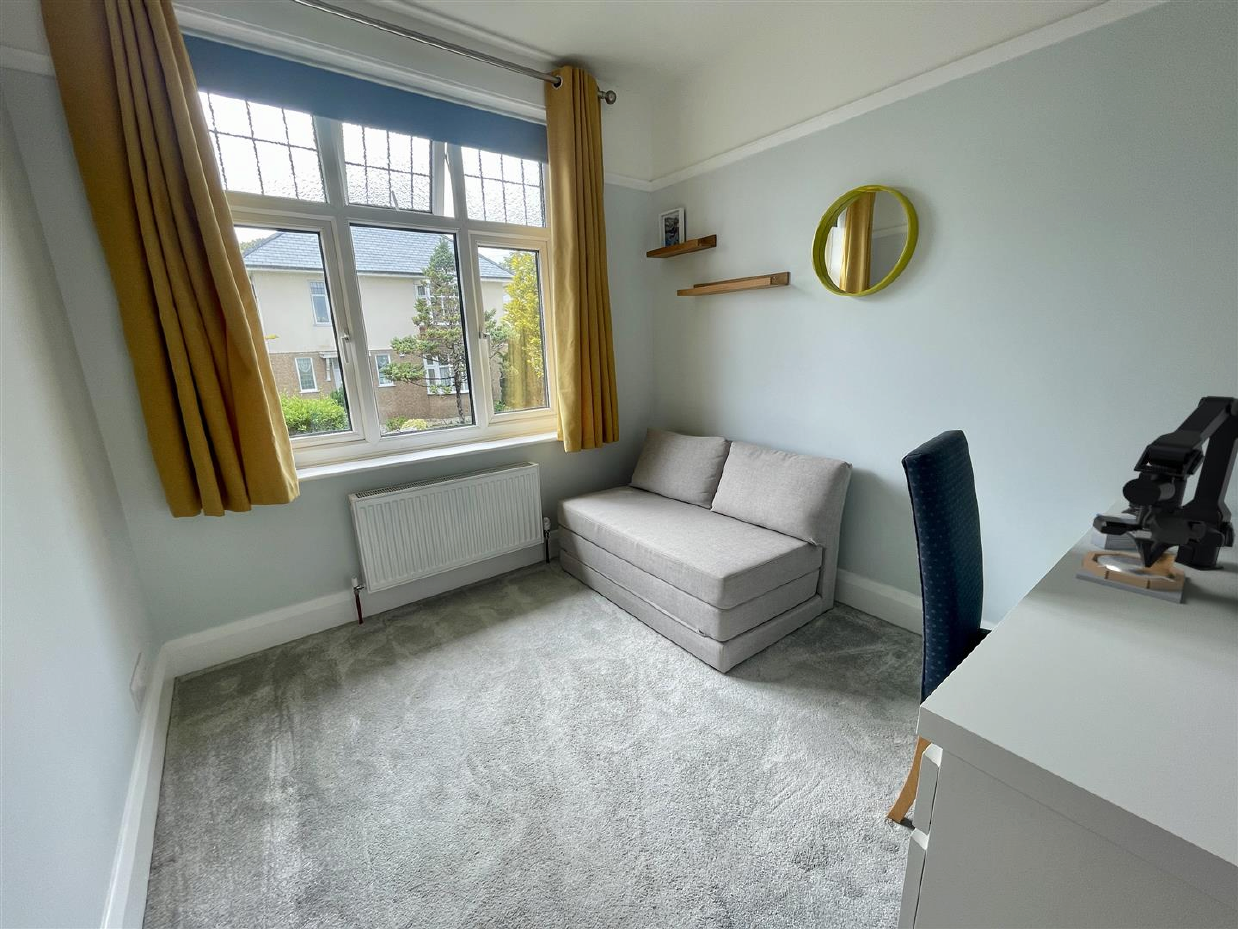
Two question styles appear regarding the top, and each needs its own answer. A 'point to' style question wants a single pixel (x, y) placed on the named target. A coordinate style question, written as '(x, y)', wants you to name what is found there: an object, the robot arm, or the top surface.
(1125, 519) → the medicine box
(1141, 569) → the dial
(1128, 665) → the top surface
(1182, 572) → the dial plate
